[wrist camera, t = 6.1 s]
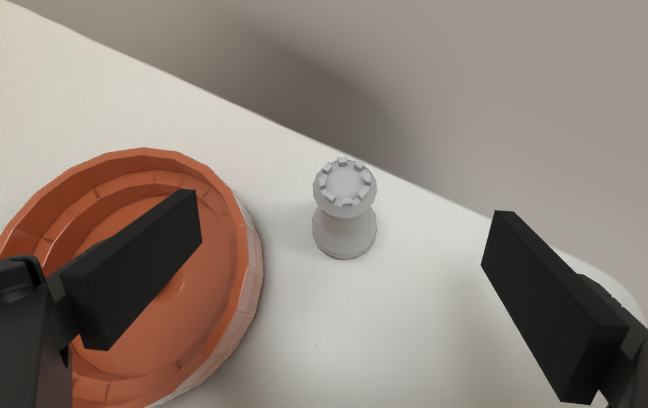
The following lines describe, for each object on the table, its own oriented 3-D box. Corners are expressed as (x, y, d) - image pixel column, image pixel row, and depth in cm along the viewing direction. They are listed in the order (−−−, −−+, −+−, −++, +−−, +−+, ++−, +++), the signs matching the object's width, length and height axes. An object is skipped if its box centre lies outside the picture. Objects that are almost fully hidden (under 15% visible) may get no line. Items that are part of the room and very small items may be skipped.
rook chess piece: (348, 188, 25) (350, 124, 17) (389, 233, 23) (411, 185, 16) (300, 224, 24) (280, 174, 16) (339, 273, 22) (337, 242, 15)
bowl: (304, 231, 24) (296, 208, 19) (176, 460, 19) (129, 495, 15) (140, 149, 27) (103, 115, 23) (-4, 328, 22) (-84, 326, 18)
